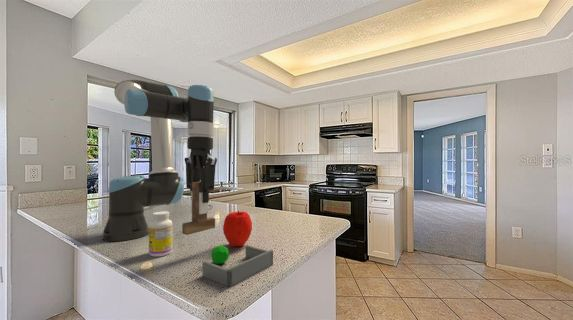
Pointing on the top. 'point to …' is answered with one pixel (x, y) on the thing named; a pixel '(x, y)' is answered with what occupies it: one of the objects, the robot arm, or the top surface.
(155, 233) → the supplement bottle
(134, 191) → the robot arm
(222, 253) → the polyhedron
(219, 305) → the top surface
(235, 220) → the apple
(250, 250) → the tray
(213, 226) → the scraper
